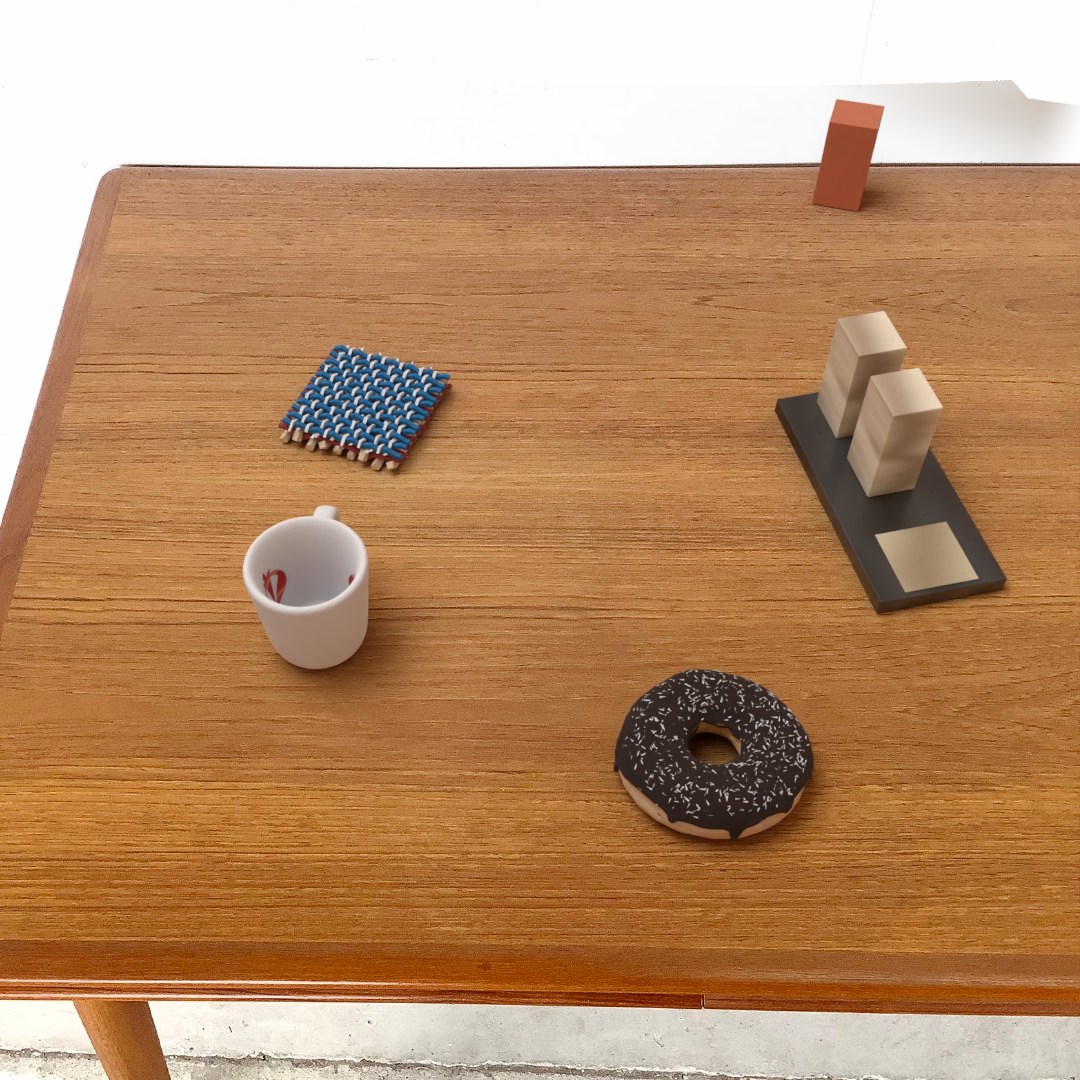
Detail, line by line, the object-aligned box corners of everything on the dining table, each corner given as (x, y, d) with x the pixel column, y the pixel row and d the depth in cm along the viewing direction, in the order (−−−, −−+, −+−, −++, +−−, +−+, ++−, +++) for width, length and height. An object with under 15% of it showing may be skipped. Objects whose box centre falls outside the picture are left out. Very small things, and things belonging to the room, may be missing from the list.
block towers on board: (886, 390, 100) (915, 295, 93) (1002, 589, 89) (1046, 498, 81) (774, 410, 100) (794, 315, 92) (876, 613, 88) (909, 524, 80)
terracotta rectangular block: (818, 181, 116) (836, 98, 110) (864, 188, 116) (884, 105, 109) (811, 204, 114) (829, 121, 108) (858, 211, 114) (878, 129, 107)
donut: (638, 675, 86) (643, 640, 82) (820, 719, 83) (833, 684, 80) (597, 819, 79) (600, 787, 76) (792, 871, 77) (804, 840, 74)
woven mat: (335, 355, 105) (332, 335, 104) (456, 388, 102) (455, 368, 101) (274, 441, 100) (270, 422, 98) (399, 479, 97) (397, 460, 95)
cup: (284, 554, 93) (267, 477, 87) (394, 564, 92) (385, 486, 86) (249, 679, 87) (228, 606, 80) (367, 690, 86) (355, 617, 79)
